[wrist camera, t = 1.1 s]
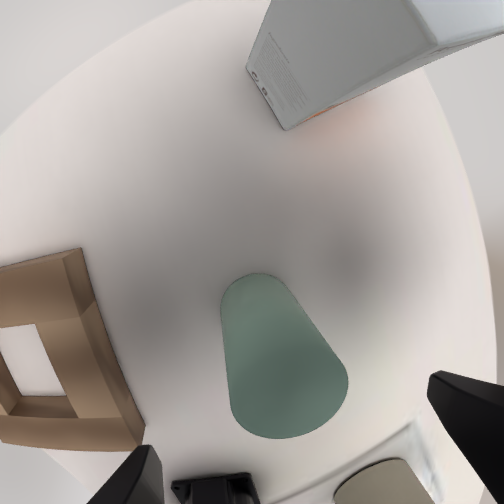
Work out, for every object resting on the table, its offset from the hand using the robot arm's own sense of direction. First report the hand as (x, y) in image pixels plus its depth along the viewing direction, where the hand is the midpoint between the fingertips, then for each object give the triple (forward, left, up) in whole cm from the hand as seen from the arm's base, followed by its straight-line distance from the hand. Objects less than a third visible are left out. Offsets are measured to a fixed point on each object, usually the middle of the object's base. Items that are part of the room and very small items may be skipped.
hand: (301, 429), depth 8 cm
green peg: (0, 0, -10) cm, 10 cm away
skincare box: (+12, -5, -10) cm, 16 cm away
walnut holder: (-1, +15, -9) cm, 18 cm away
